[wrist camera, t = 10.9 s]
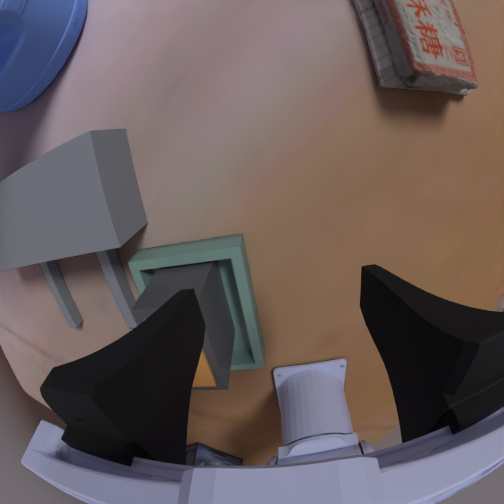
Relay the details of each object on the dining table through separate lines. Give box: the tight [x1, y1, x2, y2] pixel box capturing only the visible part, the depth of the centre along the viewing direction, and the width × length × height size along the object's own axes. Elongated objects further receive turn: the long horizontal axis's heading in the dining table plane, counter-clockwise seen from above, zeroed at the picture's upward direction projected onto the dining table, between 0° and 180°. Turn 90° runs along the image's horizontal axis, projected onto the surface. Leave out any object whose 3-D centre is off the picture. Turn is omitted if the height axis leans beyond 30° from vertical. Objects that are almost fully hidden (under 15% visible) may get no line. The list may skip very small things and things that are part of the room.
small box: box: [186, 442, 243, 466], centre depth 35 cm, size 11×6×10 cm, turn 47°
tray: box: [128, 234, 265, 371], centre depth 23 cm, size 13×9×2 cm
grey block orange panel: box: [131, 260, 235, 390], centre depth 20 cm, size 8×4×7 cm, turn 9°
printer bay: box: [0, 129, 148, 328], centre depth 20 cm, size 18×18×5 cm
